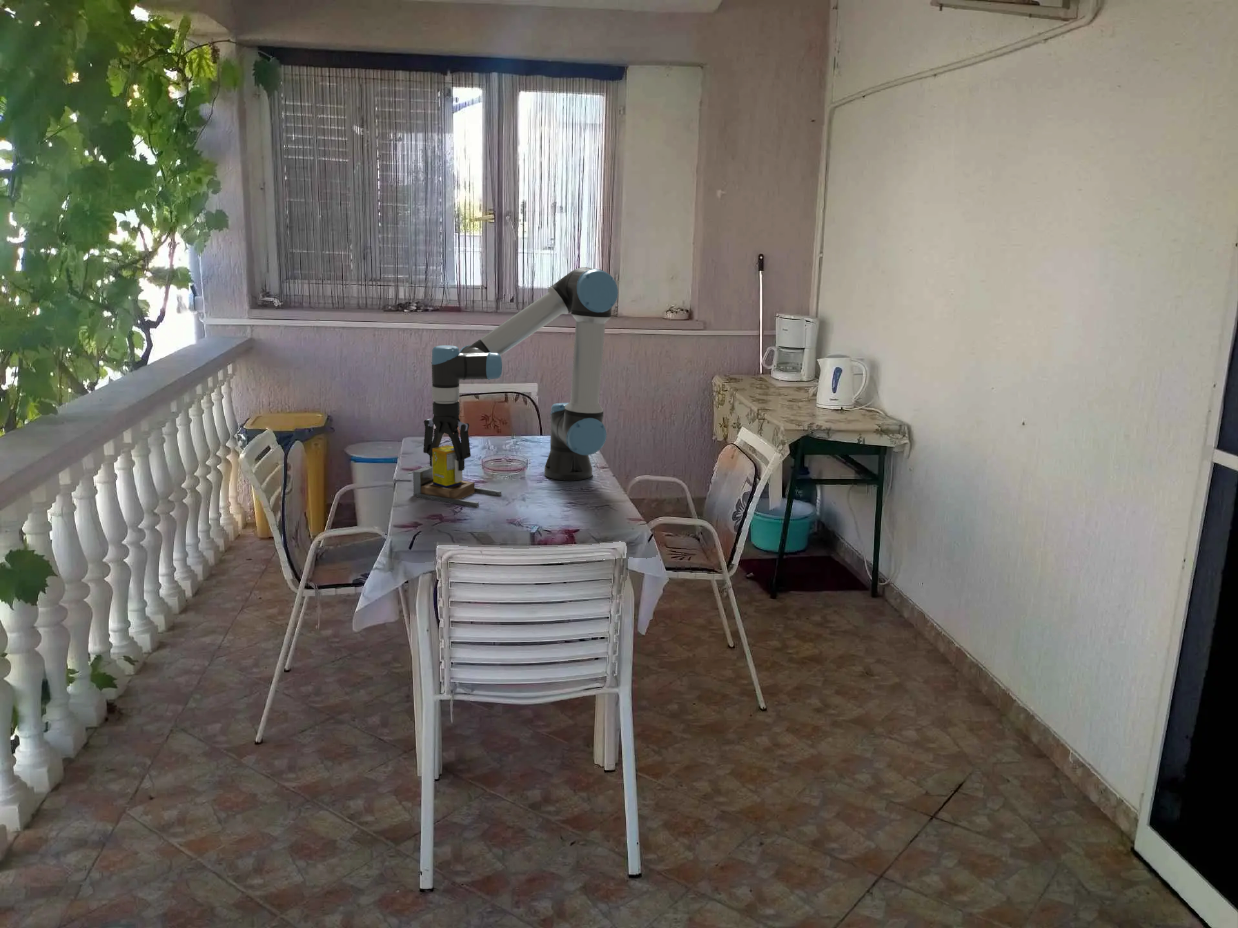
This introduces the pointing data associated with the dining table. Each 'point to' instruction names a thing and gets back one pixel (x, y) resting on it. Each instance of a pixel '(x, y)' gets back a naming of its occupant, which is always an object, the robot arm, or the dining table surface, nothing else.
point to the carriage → (450, 490)
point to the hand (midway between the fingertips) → (447, 479)
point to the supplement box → (444, 466)
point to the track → (425, 477)
